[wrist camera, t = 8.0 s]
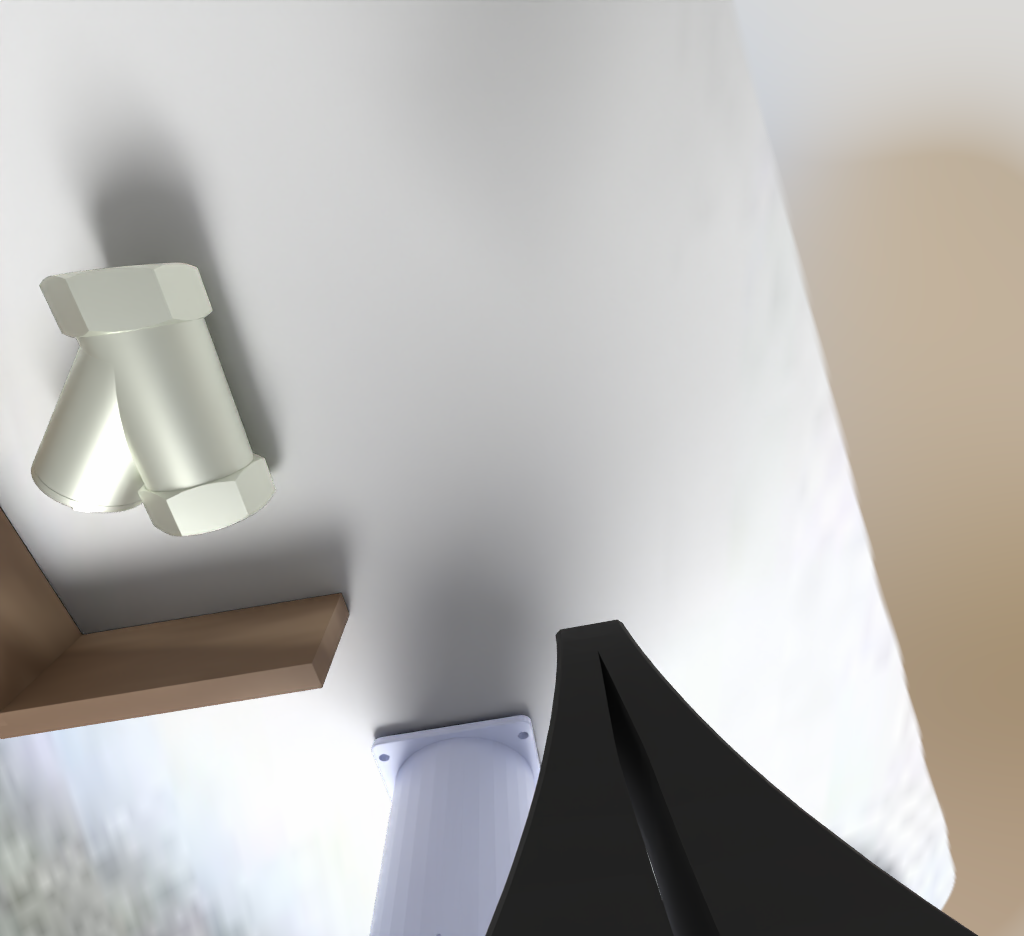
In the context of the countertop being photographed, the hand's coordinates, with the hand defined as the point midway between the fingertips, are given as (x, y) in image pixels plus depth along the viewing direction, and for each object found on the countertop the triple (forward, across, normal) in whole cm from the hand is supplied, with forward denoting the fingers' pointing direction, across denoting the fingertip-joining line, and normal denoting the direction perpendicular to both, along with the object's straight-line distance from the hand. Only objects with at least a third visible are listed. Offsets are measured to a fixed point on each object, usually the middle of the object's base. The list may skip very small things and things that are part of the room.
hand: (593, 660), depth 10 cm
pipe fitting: (+10, +13, -6) cm, 18 cm away
